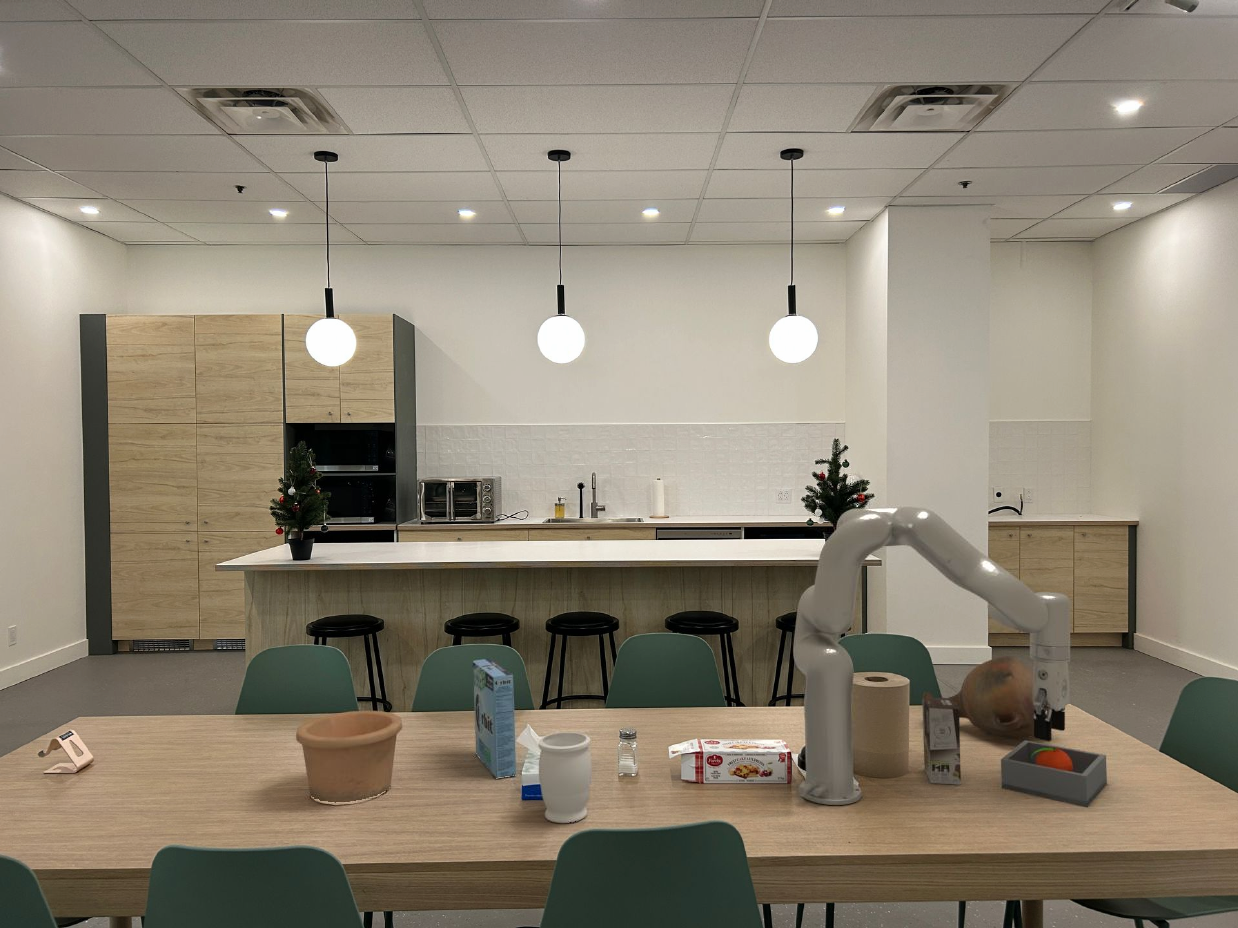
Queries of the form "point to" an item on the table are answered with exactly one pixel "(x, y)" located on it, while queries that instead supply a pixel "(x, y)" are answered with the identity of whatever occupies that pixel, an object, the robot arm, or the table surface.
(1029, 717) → the jug
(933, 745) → the coffee box
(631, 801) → the table surface
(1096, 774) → the bin
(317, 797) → the pottery
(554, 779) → the jar
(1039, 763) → the clementine
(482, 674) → the gum box
